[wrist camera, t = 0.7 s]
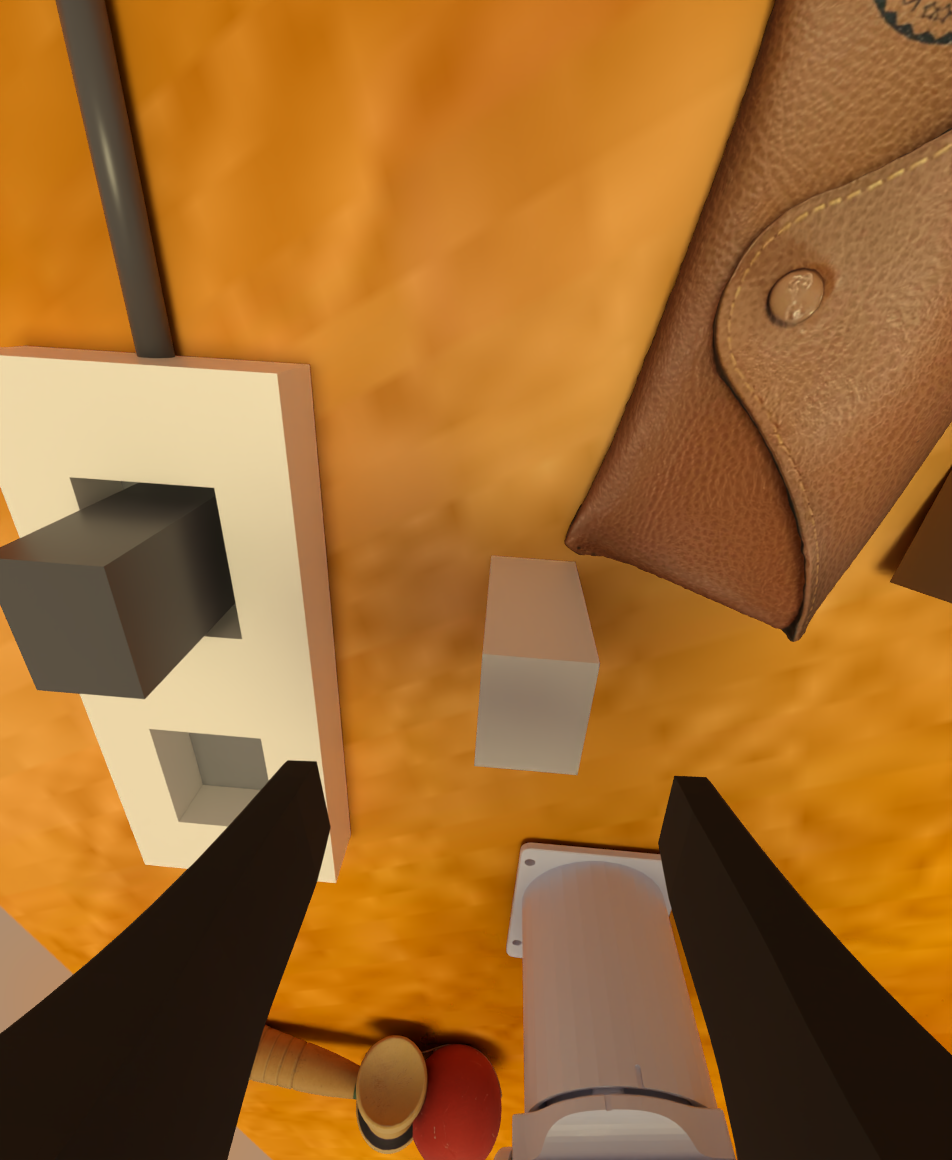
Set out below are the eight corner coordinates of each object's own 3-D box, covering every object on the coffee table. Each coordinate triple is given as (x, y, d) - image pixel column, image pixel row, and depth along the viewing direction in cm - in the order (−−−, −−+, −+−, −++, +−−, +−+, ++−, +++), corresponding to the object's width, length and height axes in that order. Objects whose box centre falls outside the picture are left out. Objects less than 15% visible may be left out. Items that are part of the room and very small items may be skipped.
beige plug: (560, 653, 20) (577, 774, 15) (484, 647, 21) (474, 765, 15) (575, 561, 19) (600, 663, 13) (491, 555, 19) (482, 654, 13)
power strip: (350, 834, 26) (305, 982, 21) (175, 818, 27) (82, 959, 21) (266, -130, 11) (12, -579, 6) (-131, -144, 12) (-760, -585, 6)
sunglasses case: (825, -249, 10) (1445, -673, 5) (968, -47, 14) (1419, -190, 9) (552, 560, 19) (693, 685, 14) (684, 556, 22) (834, 654, 17)
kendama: (268, 1030, 40) (498, 1103, 38) (214, 1135, 34) (483, 1231, 32) (268, 956, 38) (514, 1029, 35) (210, 1056, 32) (501, 1152, 29)
